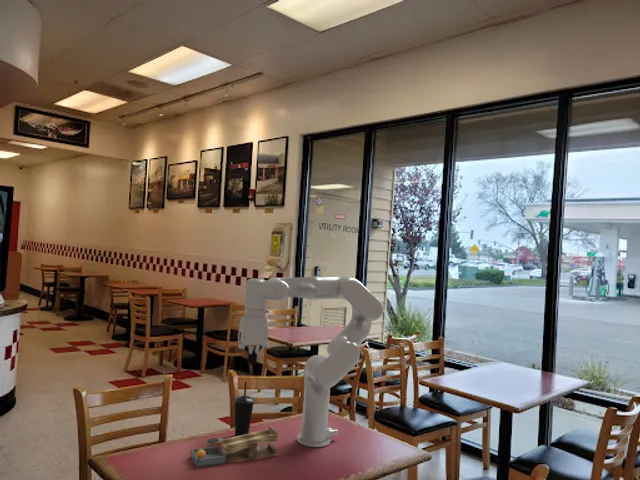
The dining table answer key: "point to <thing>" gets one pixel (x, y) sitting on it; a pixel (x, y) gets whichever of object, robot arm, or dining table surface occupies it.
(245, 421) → the drinking cup
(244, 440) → the lever
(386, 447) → the dining table surface
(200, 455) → the ball
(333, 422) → the dining table surface
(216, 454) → the tray
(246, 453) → the catapult base
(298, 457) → the dining table surface
